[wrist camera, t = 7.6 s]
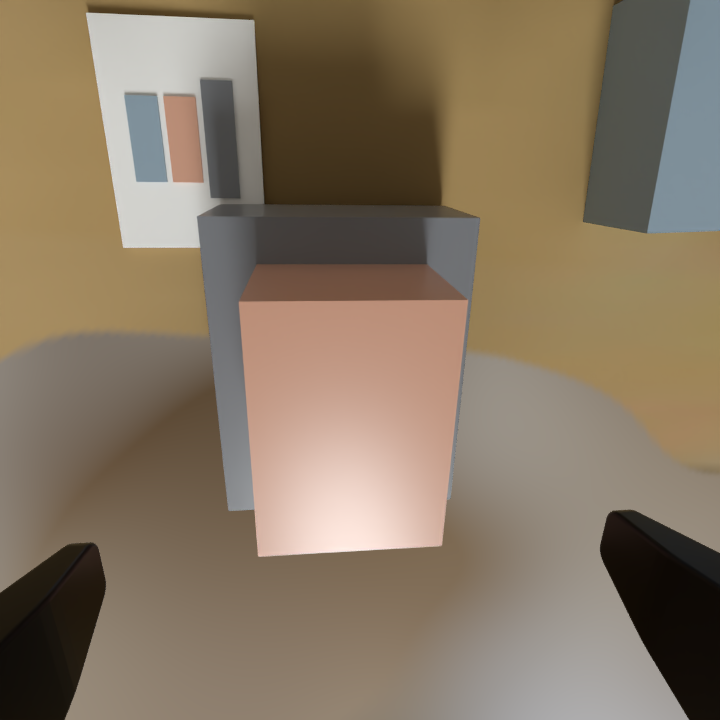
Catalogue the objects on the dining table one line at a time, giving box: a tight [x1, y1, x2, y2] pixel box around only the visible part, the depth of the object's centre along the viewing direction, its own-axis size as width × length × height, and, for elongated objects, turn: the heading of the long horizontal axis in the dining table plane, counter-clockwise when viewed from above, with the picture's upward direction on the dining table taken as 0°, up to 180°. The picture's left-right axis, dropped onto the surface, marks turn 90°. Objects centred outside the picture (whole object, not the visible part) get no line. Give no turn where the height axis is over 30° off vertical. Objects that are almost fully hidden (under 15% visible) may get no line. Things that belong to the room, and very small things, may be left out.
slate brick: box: [583, 0, 720, 233], centre depth 16 cm, size 5×7×4 cm
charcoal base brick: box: [197, 204, 480, 511], centre depth 17 cm, size 8×10×4 cm
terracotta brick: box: [239, 264, 468, 557], centre depth 14 cm, size 5×7×4 cm
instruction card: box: [86, 13, 264, 248], centre depth 16 cm, size 5×7×1 cm
